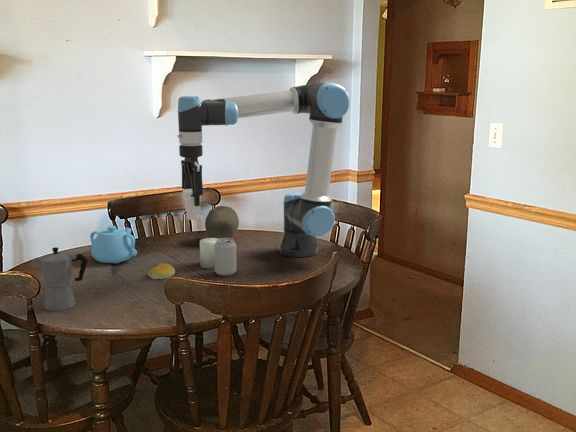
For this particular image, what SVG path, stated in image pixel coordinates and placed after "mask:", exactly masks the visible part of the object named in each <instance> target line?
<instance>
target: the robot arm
mask: <svg viewBox="0 0 576 432" xmlns="http://www.w3.org/2000/svg"><path fill="white" fill-rule="evenodd" d="M350 105H351V100H350V96H349V92H348V91H347V90H346V88H345V87H343V86H342V85H340V84H338V83H334V82H319V81H318V82H310V83H308V84H302V85H298V86H291V87H290V88H289V89H288V90H281V91H273V92H265V93H256V94H248V95H240V96H231V97H224V98H217V99H204V100H203V99H202V97H201V96H197V95H196V96H195V95H189V96H187V95H185V96H179V97H178V100H177V120H178V134H177V138H178V143H179V145H178V146H179V147H178V151H179V153H178V155H179V156H180V157H181V158H184V159H182V160H180V164H181V189H182V190H185V189H192V193H193V195H191V197H192V216H196V215H199V216H201V215H202V214H201V213H202V212H201V211H202V210H201V209H202V207H201V198H200V196H201V197H202V196H203V195H204V191H203V189H204V188H203V165H202V164H199V158H200V157H203V155H204V154H203V145H202V144H203V126H227V127H228V126H233V125H236V124H237V123H238V119H242V118H243V119H244V118H249V117H250V118H251V117H257V116H268V115H272V114H273V115H274V114H282V113H288V112H289V113H290V112H291V113H292V114H294V115H295V114H309V119H308V120H309V122H310V123H311V125H312V130H311V139H310V145H309V154H308V162H307V163H308V164H307V170H306V171H307V172H306V180H305V187H304V192H294V193H293V192H291V193H287V194H285V195H284V196H283V203H282V204H283V233H282V236H281V239H280V242H279V245H278V251H279V253H280V254H281V255H284V256H287V257H293V258H306V257H312V256H315V255H317V254H318V253H319V245H318V242H317V238H318V237H323V236H325V235H327V234H328V233H329V232H331V230H332V229H333V227H334V225H335V221H336V220H335V219H336V218H335V217H336V216H335V214H334V212H333V209H332V204H333V203H332V202H333V199H332V198H331V196H330V193H329V192H330V184H331V177H332V170H333V169H332V168H333V161H334V154H335V147H336V146H335V145H336V138H337V137H336V136H337V129H338V127H340V126H341V125H342V124H343V117H344V116H345V115H346V113H348V111H349V109H350ZM184 211H185V212H186V207H185V206H184ZM316 237H317V238H316Z"/></svg>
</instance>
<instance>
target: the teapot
mask: <svg viewBox="0 0 576 432" xmlns="http://www.w3.org/2000/svg"><path fill="white" fill-rule="evenodd" d="M95 234H96V237H95ZM89 236H90V241H91V245H90V246H89V250H90V251H91V254H90V255H91V257H93V259H94V260H95V261H97V262H99V263H102V264H103V263H104V264H114V265H118V264H120V263H122V262H126V261H129V260H130V259H132V257H136V256H137V255H138V251H137V250H136V249H135V245H136V238H135V236H134V235H132V228H130V227H125V228H124V229H122V228H117V226H116V225H109V226H107V229H104V230H101V231H98V230H95V231H92V232H91V233H90V235H89Z"/></svg>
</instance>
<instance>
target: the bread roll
mask: <svg viewBox="0 0 576 432" xmlns="http://www.w3.org/2000/svg"><path fill="white" fill-rule="evenodd" d="M175 274H176V270H175V268H174V267H173V266H172V265H171V264H169V263H166V262H165V263H164V262H163V263H159V264H157V265H156V266H154V267H152V268H150V269H149V271H148V272H147V275H148V277H149V278H150V277H151V278H150V279H152V280H157V279H160V280H166V279H167V278H168V279H169V277H170V278H172V277H173V276H175ZM172 275H173V276H172ZM171 276H172V277H171ZM165 278H166V279H165Z"/></svg>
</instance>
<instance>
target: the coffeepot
mask: <svg viewBox="0 0 576 432" xmlns="http://www.w3.org/2000/svg"><path fill="white" fill-rule="evenodd" d="M51 249H52V253H47V254H44V255H42V256H39V257H38V256H37V257H35V258H33V259H32V262H34V263H35V265H37V267H38V268H39V270H40V271H41V272H42V276H43V279H44V282H45V286H44V295H43V308H44V309H45V310H47V311H51V312H60V311H66V310H68V309H71V308H73V307H74V306H75V305H77V303H76V298H75V295H74V294H75V293H74V291H73V286H72V284H71V281H70V280H71V278H72V269H73V268H72V267H73V262H76V261H81V263H80V270H79V272H78V277H74V281H75V282H81V281H83V279H84V275H85V273H86V268H87V266H88V262H89V261H88V260H89V259H88V258H87V257H86V256H85V255H84V254H83V253H79V254H78V253H75V254H74V253H73V254H71V253H69V252H68V253H66V252H59V247H52V248H51Z"/></svg>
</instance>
